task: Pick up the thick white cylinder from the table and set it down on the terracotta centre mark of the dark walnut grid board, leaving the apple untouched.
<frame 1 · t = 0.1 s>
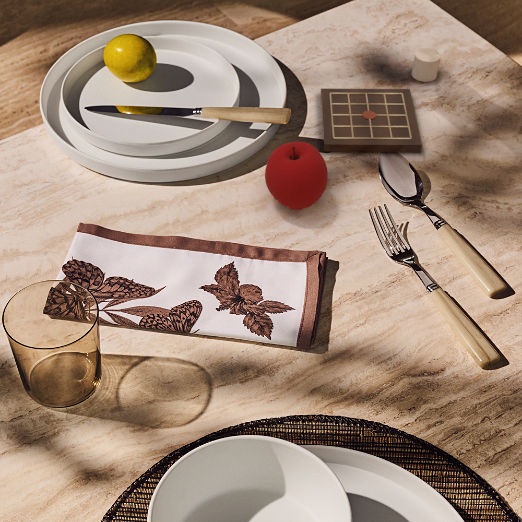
apple: (295, 198, 99), on the table
white cylinder: (424, 74, 120), on the table
board: (368, 122, 111), on the table
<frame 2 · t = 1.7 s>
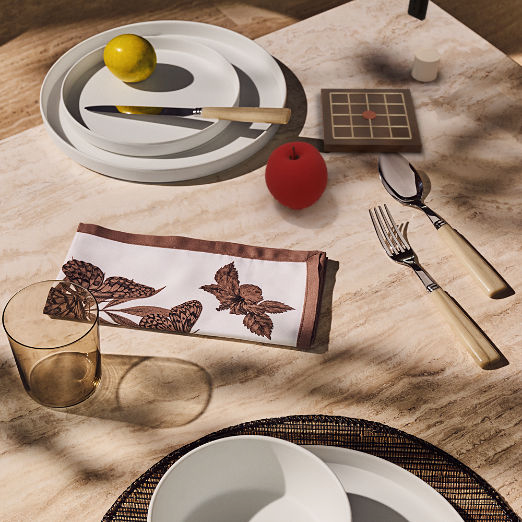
hand: (434, 6, 111), 13 cm above the table, tool pointing down, fingers open, 9 cm apart
nothing on the table moved.
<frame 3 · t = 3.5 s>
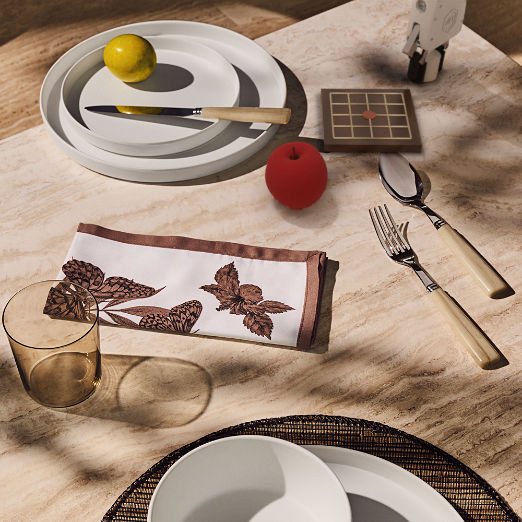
hand: (424, 73, 120), 0 cm above the table, tool pointing down, fingers closed on white cylinder, 4 cm apart
white cylinder: (424, 74, 120), on the table, touching gripper
everything else where it was.
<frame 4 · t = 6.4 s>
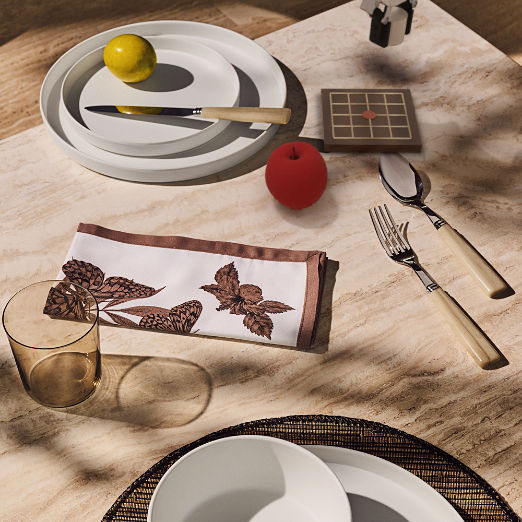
hand: (389, 36, 102), 14 cm above the table, tool pointing down, fingers closed on white cylinder, 4 cm apart
white cylinder: (389, 38, 102), point 14 cm above the table, touching gripper
everything else where it was.
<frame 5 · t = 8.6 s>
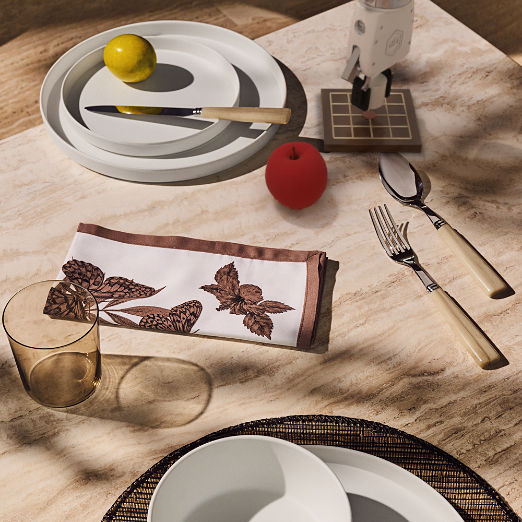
hand: (370, 99, 108), 5 cm above the table, tool pointing down, fingers closed on white cylinder, 4 cm apart
white cylinder: (369, 101, 108), point 4 cm above the table, touching gripper
everything else where it was.
when the fingers open (2 cm above the table, at t = 9.6 s): white cylinder stays where it is, resting on board.
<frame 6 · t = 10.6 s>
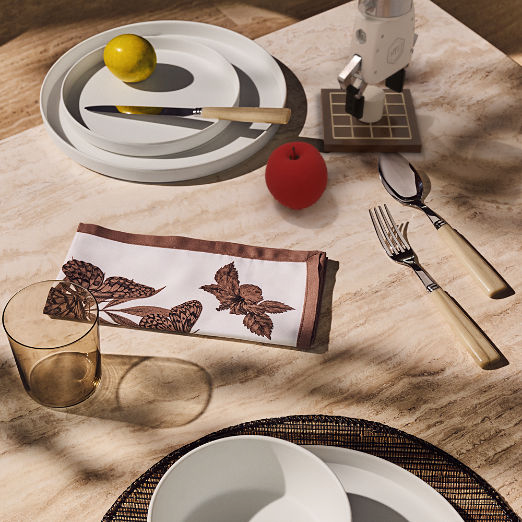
hand: (374, 101, 108), 4 cm above the table, tool pointing down, fingers open, 9 cm apart
white cylinder: (368, 114, 110), point 2 cm above the table, touching board
everything else where it was.
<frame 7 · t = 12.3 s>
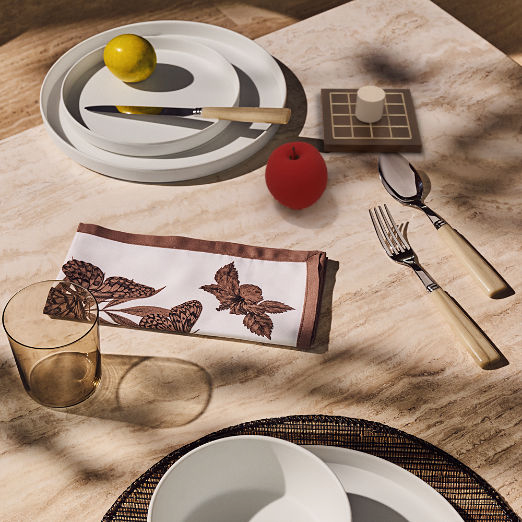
nothing on the table moved.
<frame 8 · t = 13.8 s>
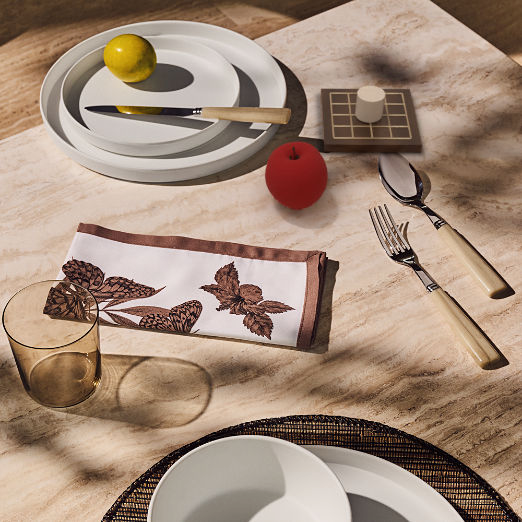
nothing on the table moved.
at the end: white cylinder 0.1 cm off-centre on the board, point 1.6 cm above the board's base; white cylinder tilted 0°; apple moved 0.2 cm from its start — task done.
